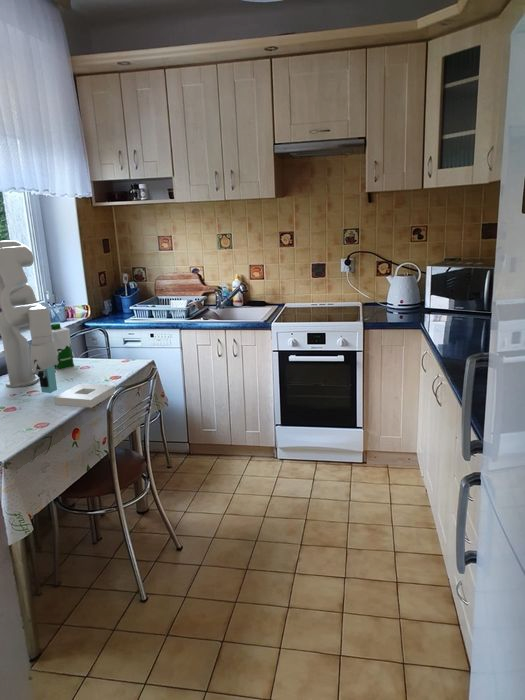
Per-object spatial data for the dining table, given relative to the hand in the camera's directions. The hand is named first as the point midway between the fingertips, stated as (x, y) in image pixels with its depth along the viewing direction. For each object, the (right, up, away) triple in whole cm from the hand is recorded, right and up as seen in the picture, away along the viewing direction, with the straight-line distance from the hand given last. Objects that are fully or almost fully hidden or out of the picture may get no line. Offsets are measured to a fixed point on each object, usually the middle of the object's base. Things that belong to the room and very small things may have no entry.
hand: (48, 384), depth 207 cm
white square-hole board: (+17, -5, -1) cm, 18 cm away
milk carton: (-10, +5, +41) cm, 43 cm away
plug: (0, -3, +1) cm, 3 cm away
